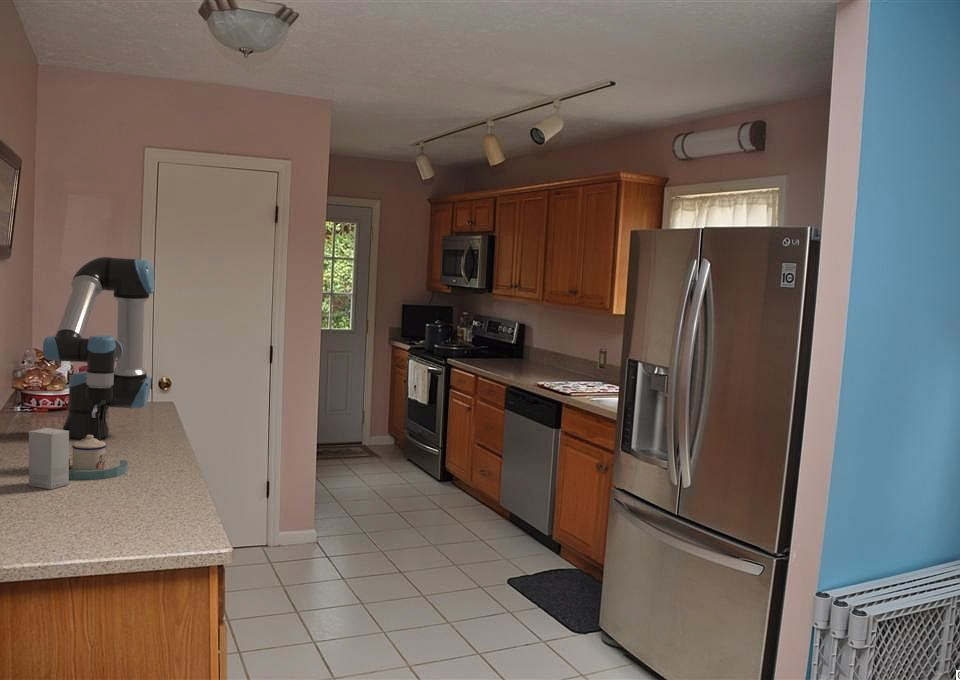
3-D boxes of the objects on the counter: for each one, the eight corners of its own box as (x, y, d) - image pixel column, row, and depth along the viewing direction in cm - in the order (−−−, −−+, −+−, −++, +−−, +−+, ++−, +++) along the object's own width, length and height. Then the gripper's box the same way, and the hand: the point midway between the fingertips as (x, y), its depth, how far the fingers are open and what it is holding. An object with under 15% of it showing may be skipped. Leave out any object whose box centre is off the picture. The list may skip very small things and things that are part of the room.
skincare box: (69, 485, 222) (71, 430, 221) (49, 490, 215) (51, 434, 214) (46, 481, 224) (48, 426, 223) (25, 485, 218) (28, 430, 217)
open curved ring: (59, 465, 241) (60, 458, 241) (130, 467, 246) (130, 459, 246) (43, 479, 226) (44, 470, 226) (119, 480, 230) (119, 472, 230)
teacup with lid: (102, 477, 232) (104, 438, 231) (68, 477, 229) (69, 438, 228) (108, 468, 243) (110, 430, 242) (75, 467, 240) (77, 430, 240)
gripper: (91, 382, 248) (88, 456, 250) (80, 388, 235) (77, 466, 237) (117, 383, 250) (114, 457, 251) (108, 389, 237) (104, 467, 239)
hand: (96, 461), depth 244 cm, fingers closed
